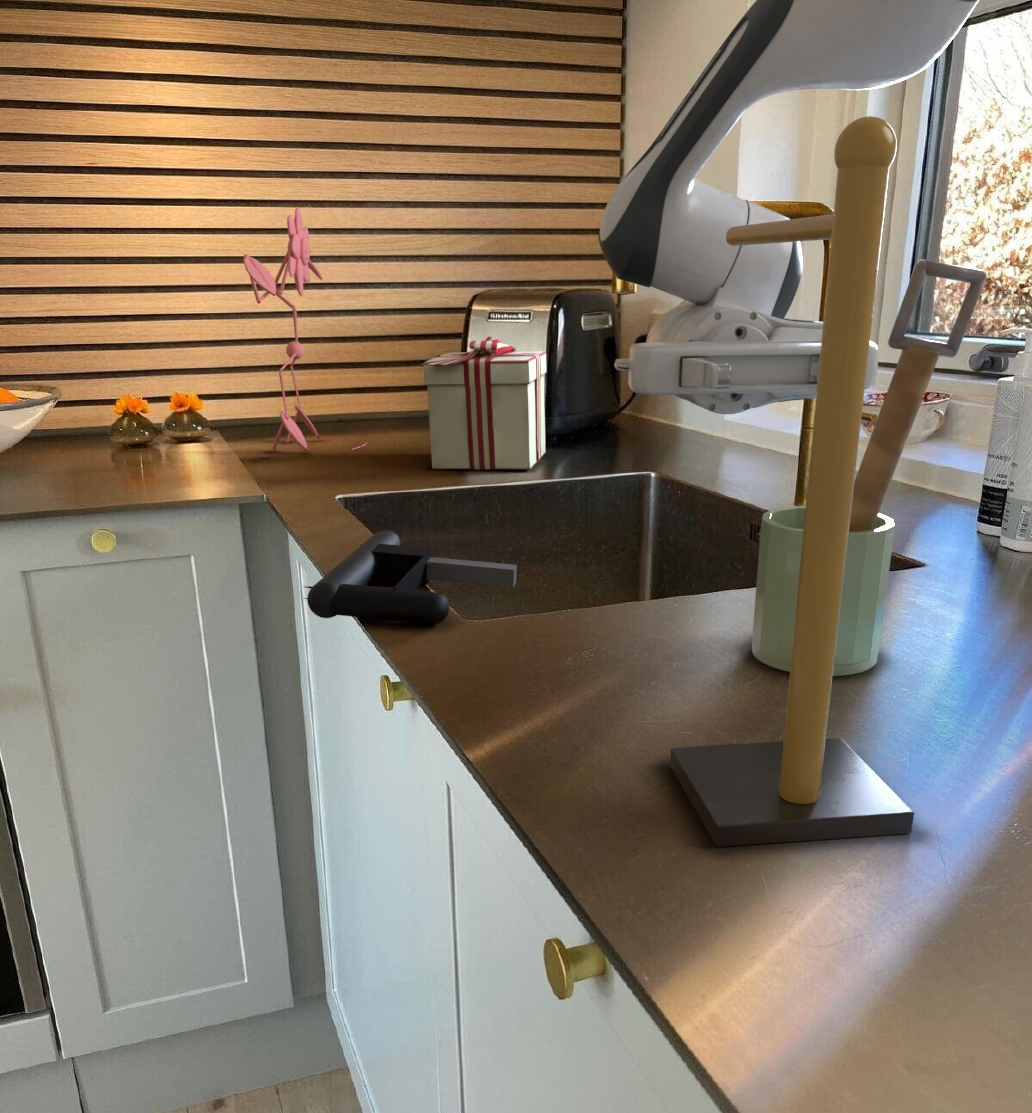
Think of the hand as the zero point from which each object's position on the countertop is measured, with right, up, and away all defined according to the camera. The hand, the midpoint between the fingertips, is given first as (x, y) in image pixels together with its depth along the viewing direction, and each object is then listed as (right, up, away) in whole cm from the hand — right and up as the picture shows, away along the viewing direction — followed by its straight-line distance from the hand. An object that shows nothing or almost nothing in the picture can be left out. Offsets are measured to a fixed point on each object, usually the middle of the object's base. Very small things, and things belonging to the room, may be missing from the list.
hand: (782, 375), depth 79 cm
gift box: (-25, +9, +74) cm, 79 cm away
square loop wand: (+1, -20, -3) cm, 21 cm away
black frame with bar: (-29, -15, +13) cm, 35 cm away
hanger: (-7, -28, -19) cm, 34 cm away
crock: (+2, -21, -3) cm, 21 cm away
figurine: (-51, +15, +89) cm, 104 cm away
